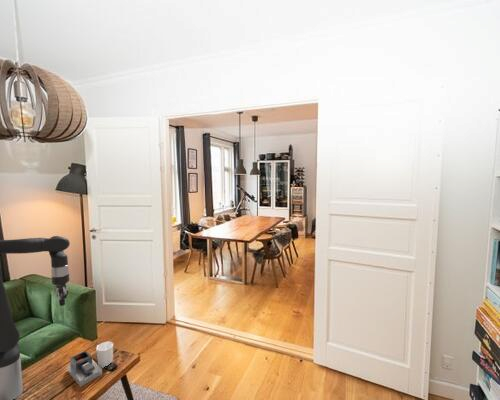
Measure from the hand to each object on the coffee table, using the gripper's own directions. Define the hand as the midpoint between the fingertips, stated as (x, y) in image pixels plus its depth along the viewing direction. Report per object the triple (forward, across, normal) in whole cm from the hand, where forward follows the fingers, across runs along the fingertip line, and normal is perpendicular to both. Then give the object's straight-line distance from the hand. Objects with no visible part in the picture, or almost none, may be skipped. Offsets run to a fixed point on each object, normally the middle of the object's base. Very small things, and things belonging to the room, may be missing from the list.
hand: (62, 305), depth 140 cm
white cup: (+32, +19, +13) cm, 39 cm away
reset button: (+29, +14, +3) cm, 32 cm away
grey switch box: (+32, +18, +3) cm, 37 cm away
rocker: (+27, +22, +3) cm, 35 cm away
